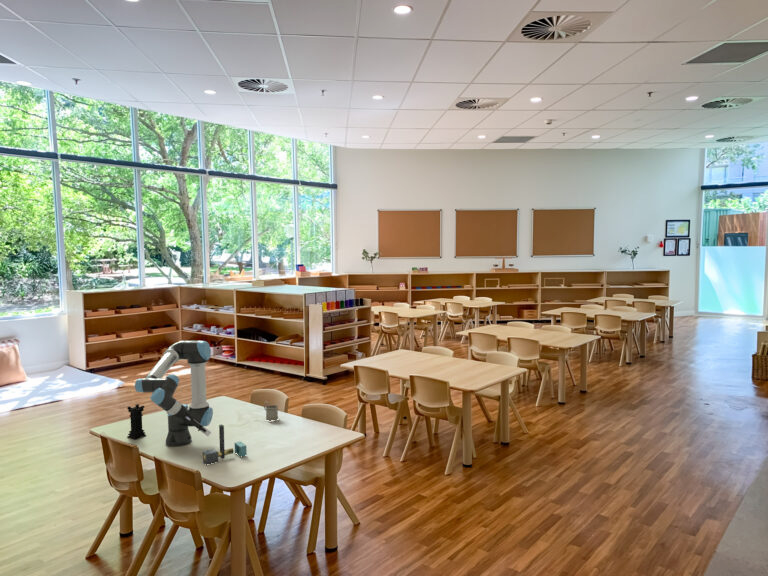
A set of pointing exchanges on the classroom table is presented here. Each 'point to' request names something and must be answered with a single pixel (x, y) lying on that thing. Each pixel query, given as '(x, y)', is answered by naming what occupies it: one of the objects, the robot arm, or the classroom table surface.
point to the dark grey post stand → (222, 444)
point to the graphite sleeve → (210, 456)
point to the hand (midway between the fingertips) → (205, 431)
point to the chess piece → (136, 422)
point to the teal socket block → (240, 448)
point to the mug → (271, 412)
